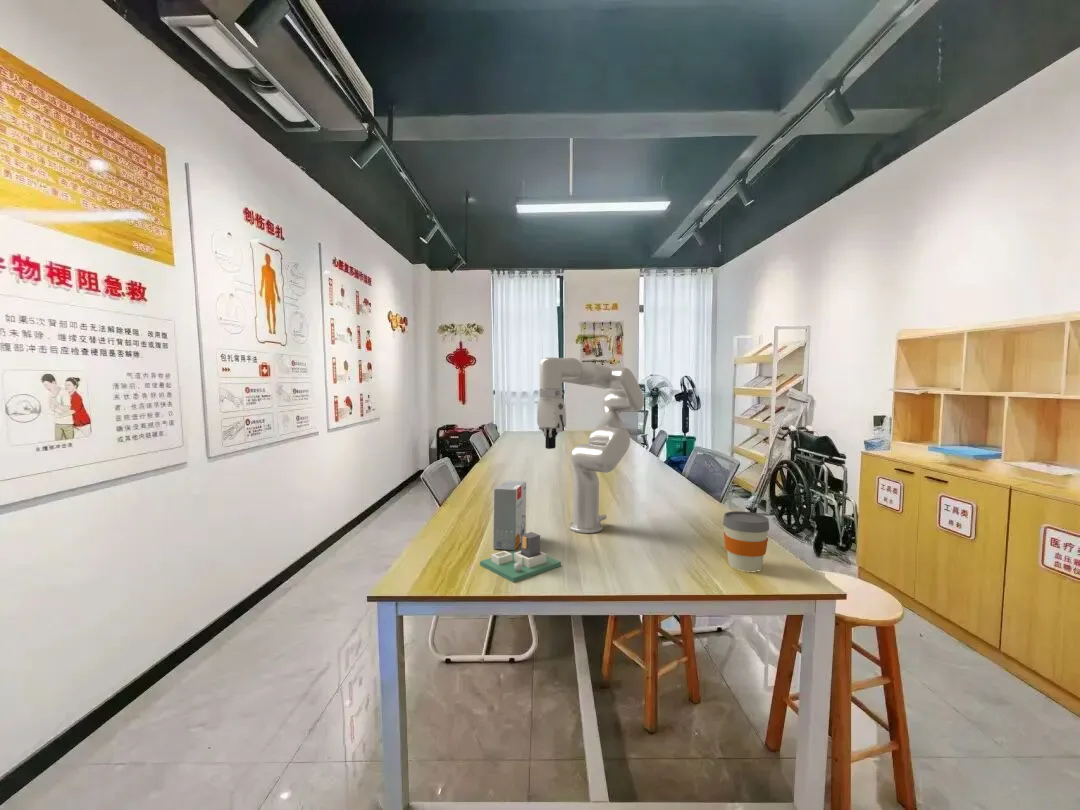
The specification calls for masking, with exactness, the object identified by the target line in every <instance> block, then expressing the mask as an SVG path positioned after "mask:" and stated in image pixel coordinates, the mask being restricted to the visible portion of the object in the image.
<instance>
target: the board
mask: <svg viewBox="0 0 1080 810" xmlns="http://www.w3.org/2000/svg"><path fill="white" fill-rule="evenodd" d="M519 551H521V548H520V549H515V550H512V551H510V552H509V551H508V550H507V551H506V550H502V551H499V552H496V553H495V552H494V553H491V554H490V558H486V559H483V560H480V561H479V565H480V567H483V568H485V569H487V570H489V571H491V572H492V573H494V574H496V575H498V576H500V577H502V578H504V579H506V580H508V581H509V582H512V583H516V582H518V581H522V580H524V579H527V578H530V577H533V576H535V575H538V574H541V573H544V572H547V571H550V570H553V569H556V568H557V567H560V566H562V561H560V560H557V559H555V558H553V557H551V556H548V555H546V562H545V563H542V564H539V565H536V566H533V567H530V568H527V567H525V566H522V564H521V563H517V562H514V553H516V552H519Z"/></svg>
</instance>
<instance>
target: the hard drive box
mask: <svg viewBox="0 0 1080 810" xmlns="http://www.w3.org/2000/svg"><path fill="white" fill-rule="evenodd" d="M526 522H527V481H526V480H525V481H524V480H513V479H512V480H510V479H507V480H505V481H504V482H502V483H501V484H499V485H498V486H497V487H495V488H494V489H493V524H492V525H493V528H492V529H493V530H492V532H493V533H492V534H493V535H492V549H495V550H503V551H506V550H507V551H516V550H517V549H518V547H519V545H521V535H522V534H526V533H527V531H526V530H527V528H526V527H527V523H526Z"/></svg>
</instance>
